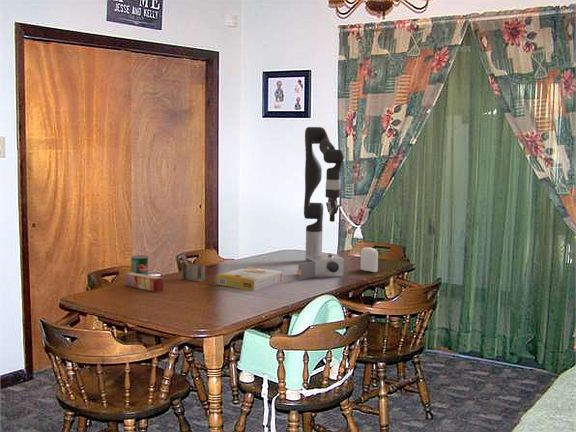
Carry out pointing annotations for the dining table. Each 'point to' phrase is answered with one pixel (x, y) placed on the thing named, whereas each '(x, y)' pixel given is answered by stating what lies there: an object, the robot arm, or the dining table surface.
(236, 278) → the cereal box
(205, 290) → the dining table surface
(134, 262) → the canned tomato
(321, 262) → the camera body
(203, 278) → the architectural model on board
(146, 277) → the snack package
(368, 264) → the photo printer
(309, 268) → the side door
